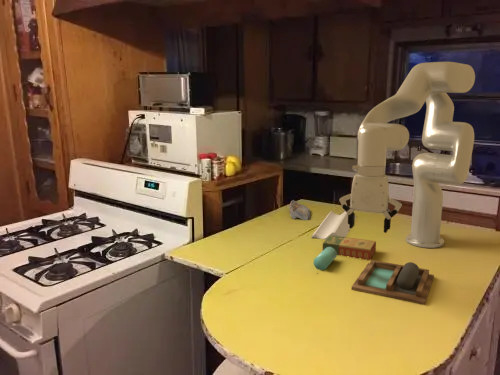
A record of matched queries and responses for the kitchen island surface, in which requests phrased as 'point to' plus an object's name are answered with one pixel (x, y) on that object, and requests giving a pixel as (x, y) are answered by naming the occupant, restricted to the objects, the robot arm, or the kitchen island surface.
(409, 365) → the kitchen island surface
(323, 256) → the mint green cylinder
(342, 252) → the carton
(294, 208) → the stone
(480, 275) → the kitchen island surface
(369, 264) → the rack
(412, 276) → the dark gray cylinder
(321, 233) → the crown molding
